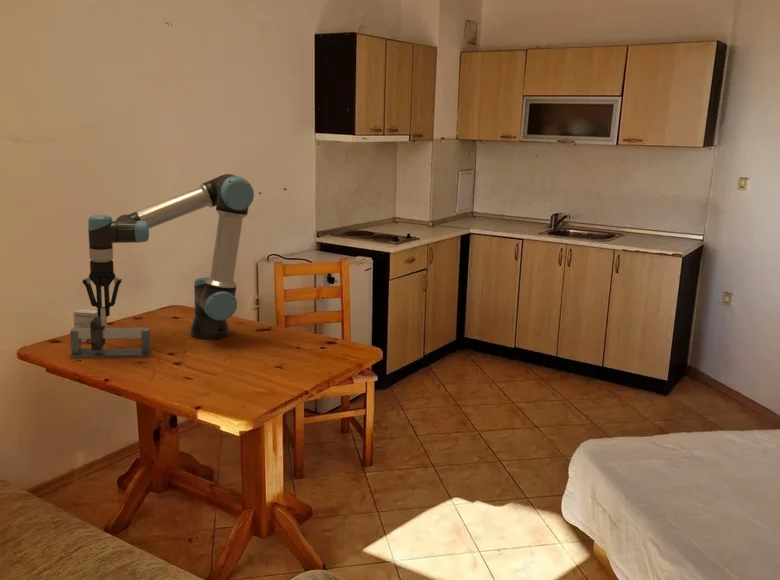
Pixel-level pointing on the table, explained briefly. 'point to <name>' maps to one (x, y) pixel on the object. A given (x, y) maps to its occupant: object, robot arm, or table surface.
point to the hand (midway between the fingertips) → (104, 325)
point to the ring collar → (96, 334)
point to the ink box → (84, 320)
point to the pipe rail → (80, 352)
